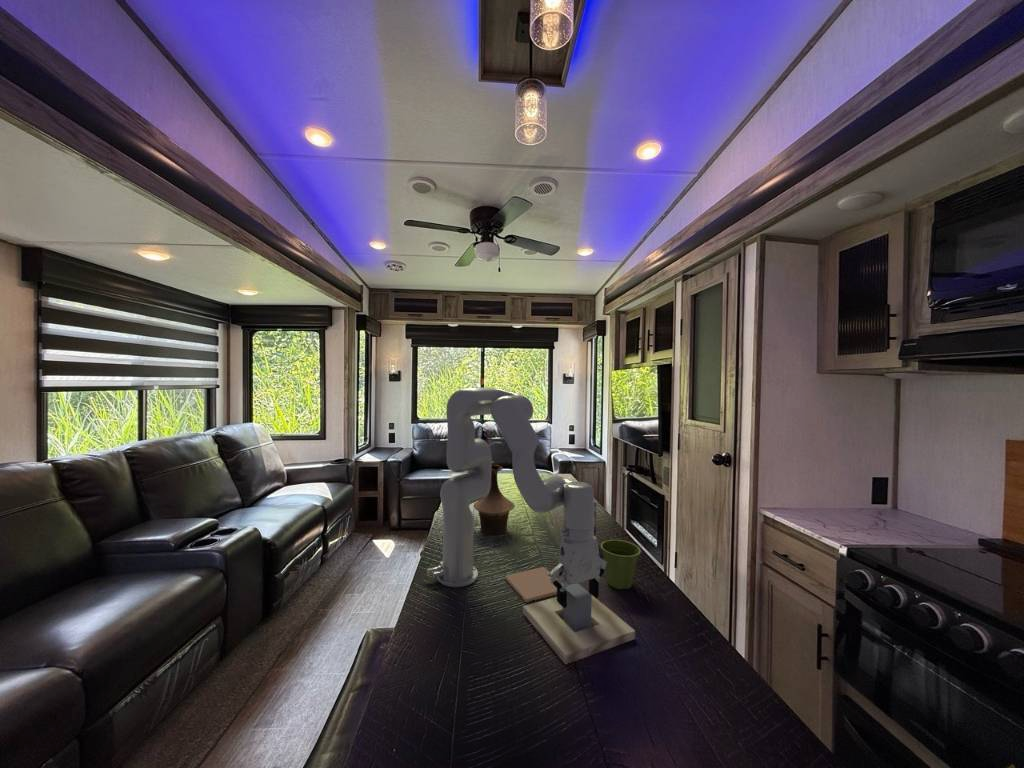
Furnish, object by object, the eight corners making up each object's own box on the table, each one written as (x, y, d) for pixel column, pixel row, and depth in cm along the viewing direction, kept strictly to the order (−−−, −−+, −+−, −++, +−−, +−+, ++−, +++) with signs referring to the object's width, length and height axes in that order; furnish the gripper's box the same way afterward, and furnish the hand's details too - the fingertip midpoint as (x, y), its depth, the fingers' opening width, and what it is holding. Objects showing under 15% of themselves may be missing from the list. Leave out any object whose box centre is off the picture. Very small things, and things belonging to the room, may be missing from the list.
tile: (526, 602, 106) (526, 599, 106) (504, 578, 119) (504, 575, 119) (568, 591, 112) (568, 588, 112) (543, 569, 125) (543, 566, 125)
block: (576, 635, 93) (576, 598, 93) (562, 621, 98) (563, 586, 98) (590, 630, 95) (591, 594, 95) (576, 616, 100) (577, 582, 100)
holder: (565, 664, 83) (565, 655, 83) (523, 613, 101) (523, 606, 101) (634, 638, 92) (635, 630, 92) (584, 596, 110) (584, 589, 110)
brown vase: (468, 524, 162) (469, 459, 162) (505, 520, 168) (506, 457, 168) (479, 541, 146) (480, 468, 146) (520, 535, 152) (521, 465, 152)
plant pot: (642, 597, 110) (643, 558, 110) (600, 591, 112) (601, 553, 112) (637, 576, 122) (638, 541, 121) (599, 572, 124) (600, 537, 124)
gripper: (557, 544, 89) (557, 617, 89) (615, 532, 97) (615, 599, 97) (541, 532, 96) (541, 600, 96) (596, 522, 103) (596, 585, 103)
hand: (578, 600), depth 96 cm, fingers open, 9 cm apart
